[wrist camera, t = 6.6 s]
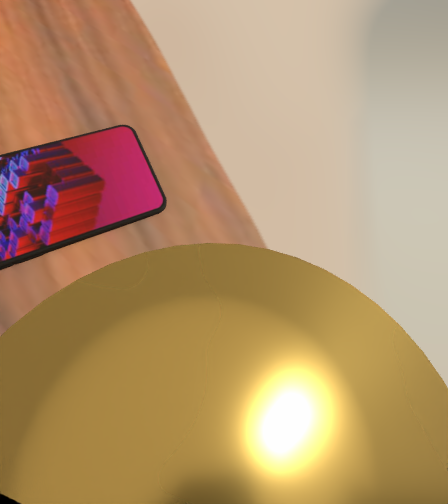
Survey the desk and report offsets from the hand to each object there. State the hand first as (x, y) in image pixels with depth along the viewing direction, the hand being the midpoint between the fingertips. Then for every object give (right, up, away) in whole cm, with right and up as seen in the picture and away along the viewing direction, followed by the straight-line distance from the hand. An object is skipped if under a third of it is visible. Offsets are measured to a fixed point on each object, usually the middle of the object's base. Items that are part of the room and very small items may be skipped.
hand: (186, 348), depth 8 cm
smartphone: (-11, +6, +13) cm, 18 cm away
